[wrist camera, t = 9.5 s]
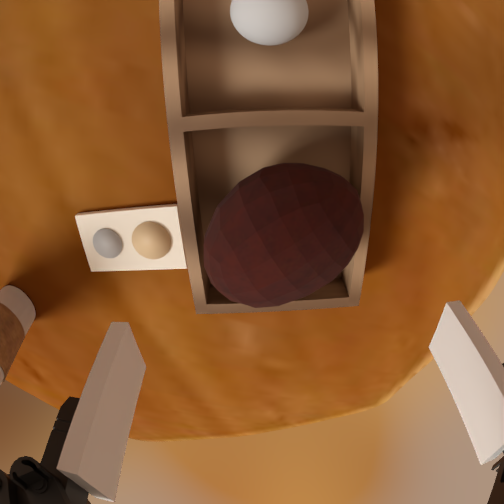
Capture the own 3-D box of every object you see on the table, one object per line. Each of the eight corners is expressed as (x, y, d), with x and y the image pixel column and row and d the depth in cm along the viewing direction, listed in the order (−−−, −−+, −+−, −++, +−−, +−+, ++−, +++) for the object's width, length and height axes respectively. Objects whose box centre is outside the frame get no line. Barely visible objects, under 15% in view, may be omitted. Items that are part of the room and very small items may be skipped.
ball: (230, -9, 17) (225, -31, 13) (300, -11, 17) (312, -32, 13) (233, 51, 20) (229, 41, 15) (303, 49, 20) (317, 40, 15)
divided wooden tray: (171, -53, 16) (158, -71, 12) (348, -56, 15) (363, -74, 12) (202, 286, 31) (196, 313, 27) (347, 280, 30) (358, 305, 27)
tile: (77, 213, 27) (73, 216, 26) (178, 203, 27) (176, 207, 26) (93, 268, 30) (90, 272, 29) (187, 264, 29) (186, 269, 29)
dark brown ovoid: (362, 211, 26) (406, 271, 18) (245, 282, 29) (243, 359, 21) (308, 122, 22) (341, 145, 14) (182, 209, 26) (151, 271, 18)
